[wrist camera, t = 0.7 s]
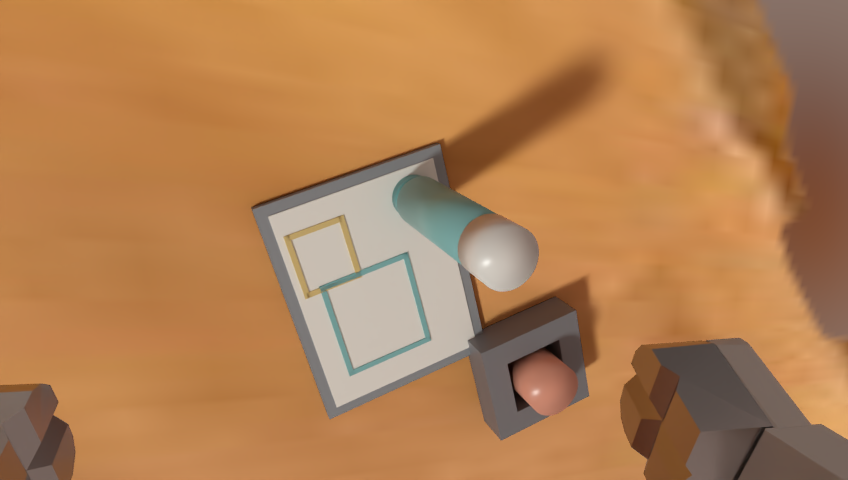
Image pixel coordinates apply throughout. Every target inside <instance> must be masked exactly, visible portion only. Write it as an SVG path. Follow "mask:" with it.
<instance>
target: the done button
mask: <svg viewBox="0 0 848 480" xmlns="http://www.w3.org/2000/svg"><path fill="white" fill-rule="evenodd" d="M508 370H509V374H510V379H511V384H512V388H513V389H514V390H515V391H516V392H517V393H518V394H519V395H520V396H521V397H522V398H523V399H524V400H525V401H526V402H527V403H528V404H529V405H530V406H531V407H532V408H533V409H534V410H535V411H536V412H537V413H539V414H541V415H545V416H550V415H554V414H557V413H559V412H561V411H563V410H564V409H565V408H566V407H567V406H568V405H569V404H570V403H571V402H572V400H573V399H574V397H575V395H576V392H577V389H578V379H577V376H576V374H575V372H574V371H573V370H572V369H570V368H569V367H568V366H567V365H566V364H564V363H563V362H562V361H561V360H559V359H558V358H557V357H556V356H555V355H553V354H552V353H551V352H550V351H548V350H547V349H546V348H545V347H543V348H540V349H538V350H536V351H534V352H532V353H530V354H528V355H526V356H523V357H521V358H519V359H517V360H515V361H513V362H511V363H509V364H508Z"/></svg>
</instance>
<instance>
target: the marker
mask: <svg viewBox="0 0 848 480" xmlns="http://www.w3.org/2000/svg"><path fill="white" fill-rule="evenodd" d="M392 202H393V206H394V208H395V209H396V211H397V212H398V213H399V215H400V216H401V218H402V219H403V220H404V221H405V222H407V223H408V224H409V225H410V226H412V227H413V228H414V229H416V230H417V231H418V232H419V233H421V234H422V235H423V236H425V237H426V238H427V239H429V240H430V241H431V242H432V243H434V244H435V245H436V246H438V247H439V248H440V249H441V250H443V251H444V252H445V253H447V254H448V255H449V256H450V257H452V258H453V259H454V260H456V261H457V262H458V263H460V264H461V265H462V266H463V267H464V268H465V269H466V270H467V271H468V272H470V273H471V274H472V275H474V276H475V277H476V278H477V279H479V280H480V281H481V282H483V283H484V284H485V285H486V286H488V287H489V288H491V289H493V290H495V291H510V290H513V289H516V288H518V287H519V286H521V285H522V284H523V283H525V282H526V281H527V280H528V279H529V277H530V276H531V275H532V273H533V272H534V270H535V268H536V265H537V262H538V256H539V249H538V244H537V241H536V239H535V237H534V236H533V234H532V233H531V232H530V231H528V230H527V229H525V228H523V227H521V226H520V225H518V224H516V223H514V222H512V221H510V220H509V219H507V218H505V217H503V216H501V215H498V214H496V213H494V212H492V211H490V210H489V209H487V208H485V207H483V206H481V205H480V204H478V203H476V202H474V201H472V200H470V199H469V198H467V197H465V196H463V195H461V194H460V193H458V192H456V191H454V190H452V189H450V188H449V187H447V186H445V185H443V184H441V183H440V182H438V181H436V180H434V179H432V178H430V177H426V176H420V175H408V176H406V177H404V178H402V179H401V180H400V181H399V182H398V183H397V184H396V186H395V188H394V190H393V194H392Z"/></svg>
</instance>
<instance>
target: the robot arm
mask: <svg viewBox="0 0 848 480" xmlns="http://www.w3.org/2000/svg"><path fill="white" fill-rule="evenodd" d="M631 364H632V366H633V368H634V370H635V372H636V375H635V376H634V377H633V378H631V379H630V380H629V381H628V382H627V383H626V384H624V388H623V392H622V395H621V399H620V409H621V420H622V424H623V428H624V432H625V434H626V436H627V439H628V441H629V443H630V445H631V447H632V448H633V449H635V450H636V451H637V452H639V453H640V454H641V455H643V456H644V457H645V458H647V462H646V466H645V470H644V475H645V478H646V480H848V440H847V439H846V438H844V437H842V436H840V435H839V434H837V433H835V432H834V431H832V430H830V429H829V428H827V427H825V426H824V425H822V424H815V425H811V424H810V422H809V421H808V420H807V419H806V417H805V416H804V415H803V413H802V412H801V411H800V409H799V408H798V407H797V406H796V404H795V403H794V402H793V400H792V399H791V398H790V397H789V395H788V394H787V393H786V391H785V390H784V389H783V387H782V386H781V385H780V384H779V382H778V381H777V380H776V378H775V377H774V376H773V375H772V373H771V372H770V371H769V369H768V368H767V367H766V365H765V364H764V363H763V362H762V360H761V359H760V358H759V356H758V355H757V354H756V353H755V351H754V350H753V349H752V347H751V346H750V345H749V344H748V343H747V342H745V341H744V340H742V339H741V338H730V339H716V340H706V341H702V340H700V341H687V342H673V343H660V344H647V345H641V346H640V347H639V348H638V349H637V350H636V351H635V354H634V357H633V360H632V363H631ZM57 404H58V400H57V398H56V396H55V394H54V392H53V390H52V388H51V386H50V385H47V384H18V385H0V480H71V478H72V475H73V469H74V460H75V446H74V439H73V435H72V432H71V430H70V428H69V425H68V424H67V423H65V422H64V421H62V420H60V419H59V418H57V417H55V416H54V415H53V414H54V411H55V409H56V407H57Z"/></svg>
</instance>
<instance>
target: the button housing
mask: <svg viewBox="0 0 848 480" xmlns="http://www.w3.org/2000/svg"><path fill="white" fill-rule="evenodd" d="M482 331H483V333H481V334H479V335H477V336H475V337H474V338H472V339H470V340H468V344H469V350H470V354H471V355H469V359H470V363H471V367H472V371H473V375H474V379H475V383H476V388H477V392H478V396H479V400H480V404H481V408H482V412H483V416H484V421H485V422H486V423H487V424H488V426H489V427H490V428H491V429H492V430H493V431H494V433H495V434H496V435H497V436H498V437H499V439H500V440H503V439H505V438H507V437H509V436H511V435H513V434H515V433H517V432H519V431H521V430H523V429H525V428H527V427H529V426H531V425H533V424H535V423H537V422H539V421H541V420H543V419H545V418H547V417H549V416H545V415H541V414H539V413H537V412H536V411H535V410H534V409H533V408H532V407H531V406H530V405H529V404H528V403H527V402H526V401H525V400H524V399H523V398H522V397H521V396H520V395H519V394H518V393H517V392H516V391H515V390H514V389H513V388H512V384H511V379H510V374H509V370H508V365H507V364H509V363H511V362H513V361H515V360H517V359H519V358H521V357H523V356H526V355H528V354H530V353H532V352H534V351H536V350H538V349H540V348H543V347H545V348H546V349H547V350H548V351H550V352H551V353H552V354H553V355H555V356H556V357H557V358H558V359H559V360H561V361H562V362H563V363H564V364H566V365H567V366H568V367H569V368H570V369H572V370H573V371H574V372H575V374H576V376H577V379H578V389H577V392H576V395H575V397H574V399H573V400H572V402H571V403H570V404H569V405H568V406H570V405H572V404H574V403H576V402H578V401H580V400H582V399H584V398H586V397H588V396H589V392H588V385H587V379H586V372H585V366H584V359H583V353H582V346H581V340H580V333H579V326H578V320H577V313H576V310H575V309H573V308H572V307H570V306H569V305H568V304H566V303H565V302H563V301H562V300H560V299H559V298H557V297H556V296H555V297H553V298H551V299H549V300H546V301H544V302H542V303H540V304H538V305H535V306H533V307H531V308H529V309H526V310H524V311H522V312H520V313H517V314H515V315H513V316H511V317H509V318H506V319H504V320H502V321H500V322H497V323H495V324H493V325H491V326H488V327H486V328H484V329H482ZM568 406H567V407H568ZM550 416H551V415H550Z"/></svg>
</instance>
